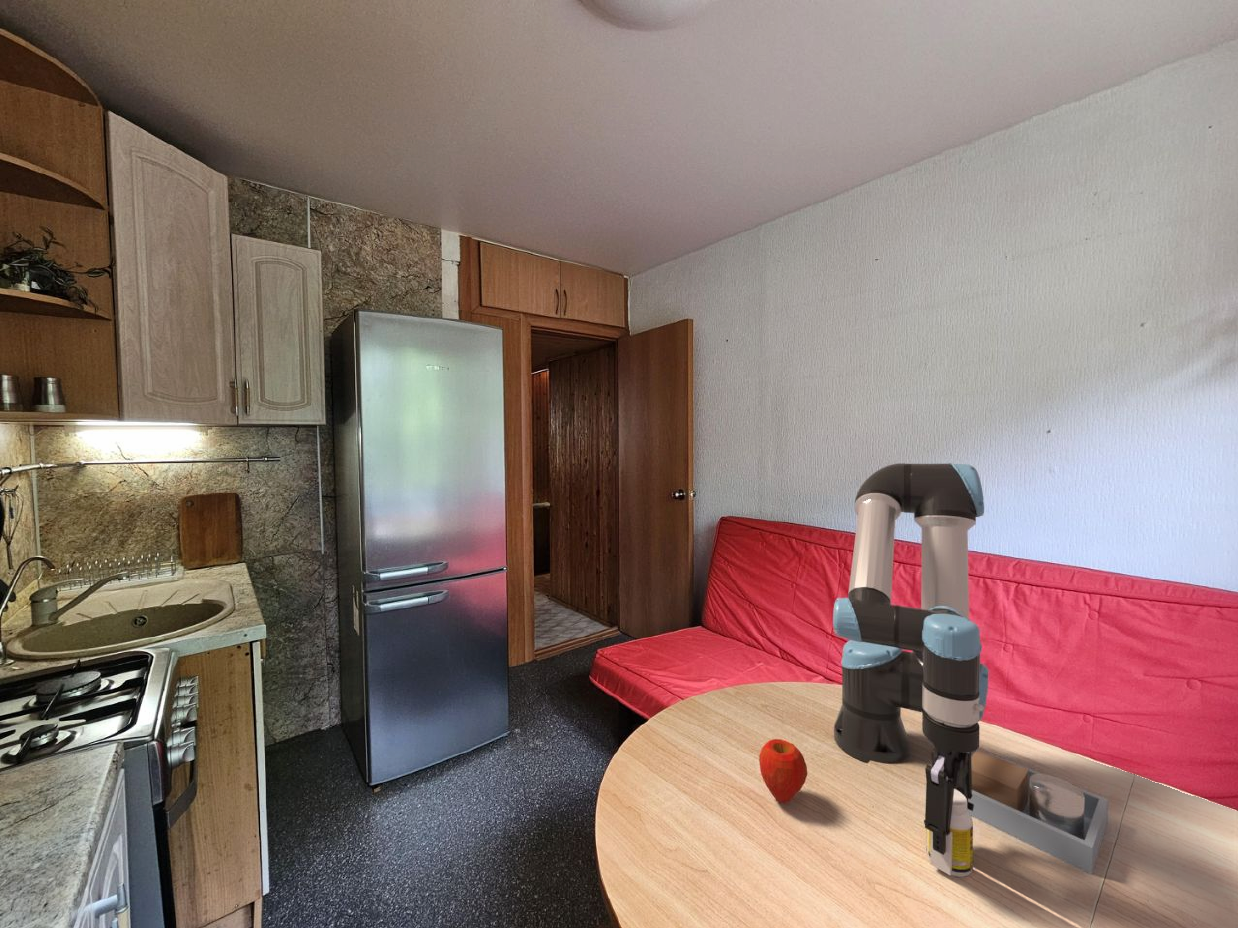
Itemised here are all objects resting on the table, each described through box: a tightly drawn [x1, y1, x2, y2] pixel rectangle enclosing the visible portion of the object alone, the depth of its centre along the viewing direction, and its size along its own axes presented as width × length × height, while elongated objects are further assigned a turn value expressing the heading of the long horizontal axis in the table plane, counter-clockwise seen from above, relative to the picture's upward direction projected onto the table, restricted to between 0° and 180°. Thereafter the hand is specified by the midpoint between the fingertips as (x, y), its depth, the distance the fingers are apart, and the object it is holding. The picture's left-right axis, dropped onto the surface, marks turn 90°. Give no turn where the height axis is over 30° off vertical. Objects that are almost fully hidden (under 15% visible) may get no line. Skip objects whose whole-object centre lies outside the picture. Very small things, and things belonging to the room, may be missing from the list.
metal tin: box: [1029, 773, 1085, 840], centre depth 84 cm, size 7×7×7 cm
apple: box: [758, 738, 808, 804], centre depth 93 cm, size 9×8×11 cm
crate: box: [967, 748, 1109, 875], centre depth 88 cm, size 20×16×5 cm
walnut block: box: [971, 750, 1029, 812], centre depth 91 cm, size 8×8×6 cm
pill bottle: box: [925, 789, 974, 878], centre depth 78 cm, size 6×6×11 cm
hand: (948, 856), depth 78 cm, fingers closed on pill bottle, 6 cm apart
